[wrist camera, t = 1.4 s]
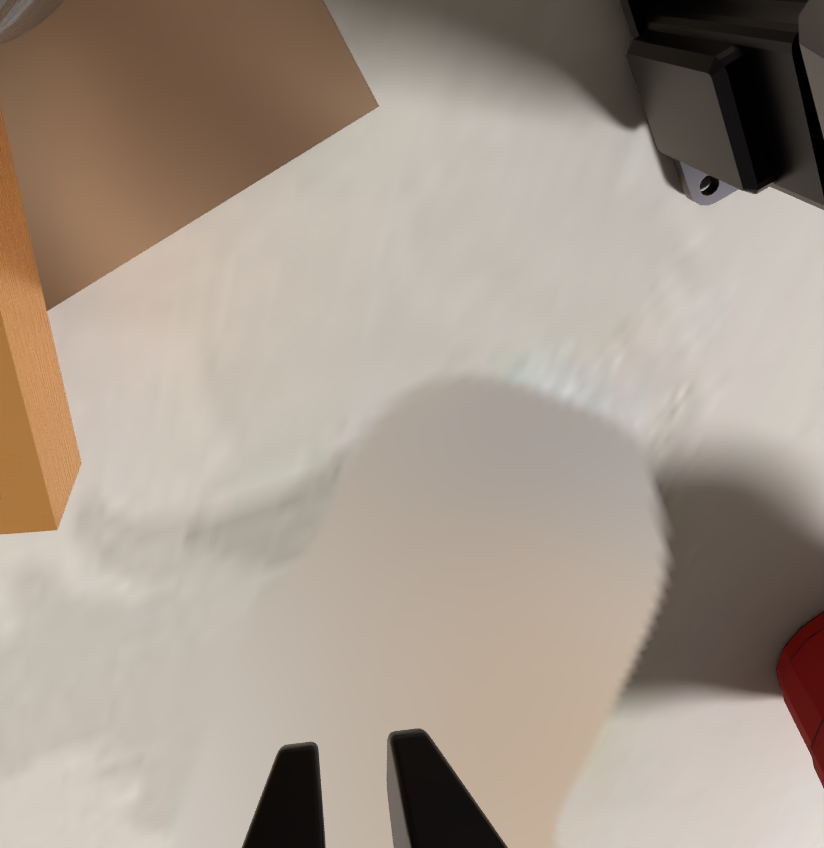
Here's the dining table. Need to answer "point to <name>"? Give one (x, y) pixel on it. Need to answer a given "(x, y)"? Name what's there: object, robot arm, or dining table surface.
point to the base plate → (161, 118)
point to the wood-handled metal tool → (28, 351)
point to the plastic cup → (806, 687)
